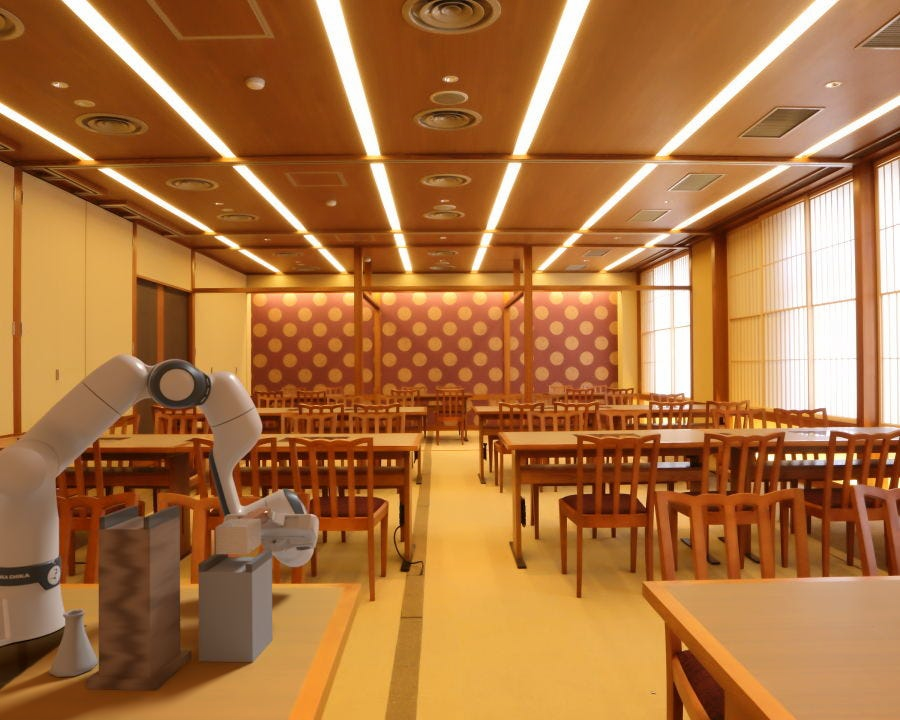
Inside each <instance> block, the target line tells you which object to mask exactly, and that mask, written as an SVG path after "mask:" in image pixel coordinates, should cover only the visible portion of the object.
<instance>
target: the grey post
mask: <svg viewBox="0 0 900 720" xmlns="http://www.w3.org/2000/svg"><path fill="white" fill-rule="evenodd" d="M273 640H274V639H273V555H272V549H264V550H263V551H261V552H260V553H259V554H257V555H256V556H229V554H216V552H215V553H214V554H212V555H210V556H209V557H207V558H206V559H204V560H202V561H200V562H199V563H198V662H211V663H213V662H215V663H217V662H218V663H219V662H220V663H254V662H255V661H256V659H257V658H258V657H259V656H260V655H261V653H263V651H264V650H265V649H266V648H267V647H268V646H269V644H271V642H272V641H273Z"/></svg>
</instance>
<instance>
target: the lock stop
mask: <svg viewBox="0 0 900 720" xmlns="http://www.w3.org/2000/svg"><path fill="white" fill-rule="evenodd" d="M267 511H271V508H259V509H257V510H255V511H253V512H251V513H249V514H248V515H246V516H244V517H242V518H240V519H230V520H228V521H226V522H224V523H221V524H218V525H216V526H215V553H216V554H228V555H249V554H250V553H252V552H253V551H254V550H255V549H257V548H258V547H260V546H262V545H261V526H262V525H264V524H265V523H267V522H268V521H267V520H266V519H265V517H266V512H267Z"/></svg>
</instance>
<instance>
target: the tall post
mask: <svg viewBox="0 0 900 720" xmlns="http://www.w3.org/2000/svg"><path fill="white" fill-rule="evenodd" d="M98 517H99V518H98V661H99V662H98V670H97V671H96V672H95V673H93V674H92V675H90V676H89V677H88V678H86V681H85V686H86V687H85V688H86V690H88V689H89V690H91V689H92V690H93V689H94V690H122V691H123V690H125V691H126V690H128V691H129V690H132V691H157V690H158V689H159V688H160V687H162V686H163V685H164V684H165V683H166V682H167V681H168V680H169V679H170V678H171V677H172V676H174V675H175V674H176V673H177V672H178V671H179V670H180V669H181V668H183V667H184V666H185V665H186V664H187V663H188V662H189V661H190V660H192V650H190V649H187V650H186V649H181V553H180V552H181V527H180V526H181V523H180V522H181V521H180V519H181V518H180V505H172V506H169V507H167V508H164V509H162V510H159V511H156V512H153V513H151V514H149V515H146V516H139V505H131V506H128V507H125V508H121V509H119V510H115V511H113V512H111V513H108V514H104V515H101V516H98Z"/></svg>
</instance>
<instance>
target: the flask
mask: <svg viewBox="0 0 900 720" xmlns="http://www.w3.org/2000/svg"><path fill="white" fill-rule="evenodd" d="M84 614H85V615H86V610H85V609H79V608H78V609H71V610H68V611H65V614H63V617H64V618H65V626H64V629H63V634H62V638H61V641H60V644H59V646H58V649H57V651H56V654H55V656H54V659H53V662H52V664H51V667H50V669H49V671H48V674H49V675H53V676H54V677H58V678H62V677H76V676H78V675H81V674H83V673H86V672H89V671H91V670H93V669H94V667H96V666H97V664H99V658H97V654H96V653H95V651H94V647H92V645H91V641H90V639H89V637H88V634H87V633H86V629H85V624H84V623H85V622H84Z"/></svg>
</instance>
